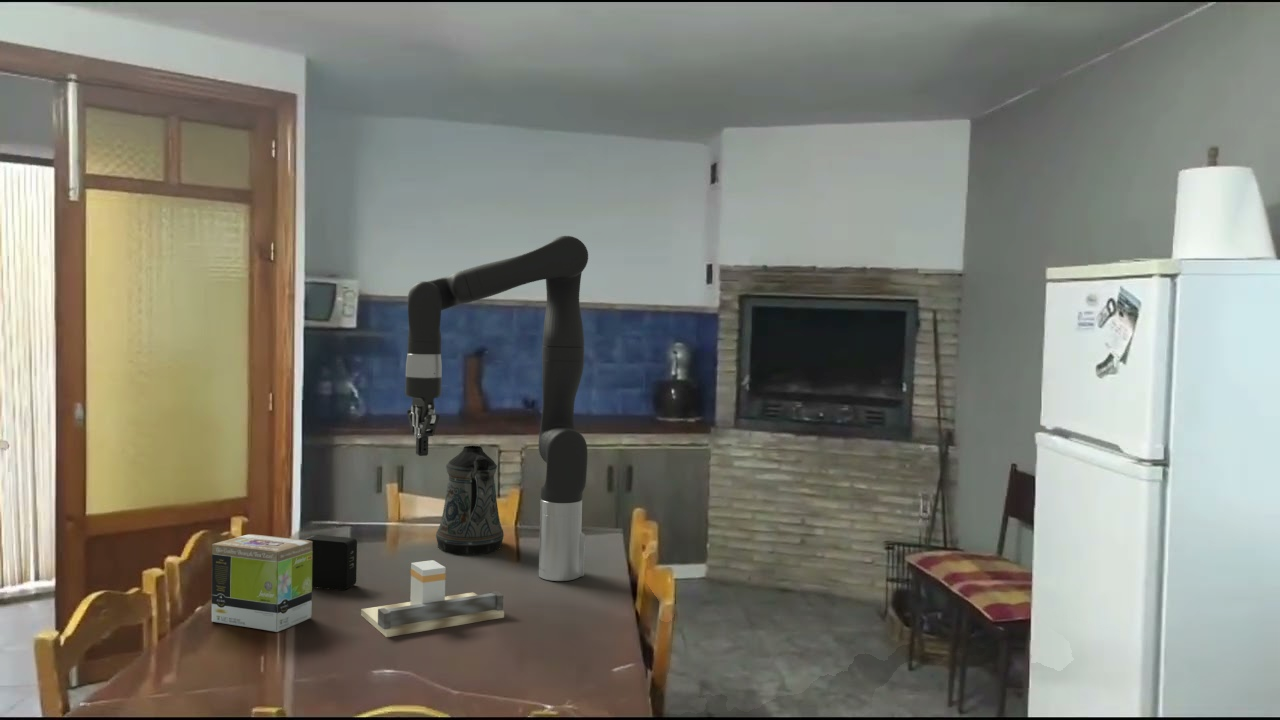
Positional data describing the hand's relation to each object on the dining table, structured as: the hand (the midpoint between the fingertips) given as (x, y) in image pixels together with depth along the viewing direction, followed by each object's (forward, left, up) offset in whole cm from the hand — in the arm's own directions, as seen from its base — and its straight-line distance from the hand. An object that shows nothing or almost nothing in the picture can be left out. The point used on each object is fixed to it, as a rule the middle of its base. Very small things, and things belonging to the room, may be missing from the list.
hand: (421, 455), depth 202 cm
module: (+8, +26, -26) cm, 37 cm away
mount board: (+7, +25, -27) cm, 37 cm away
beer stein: (-22, -20, -27) cm, 40 cm away
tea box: (+35, +12, -27) cm, 46 cm away
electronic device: (+18, -4, -27) cm, 33 cm away
